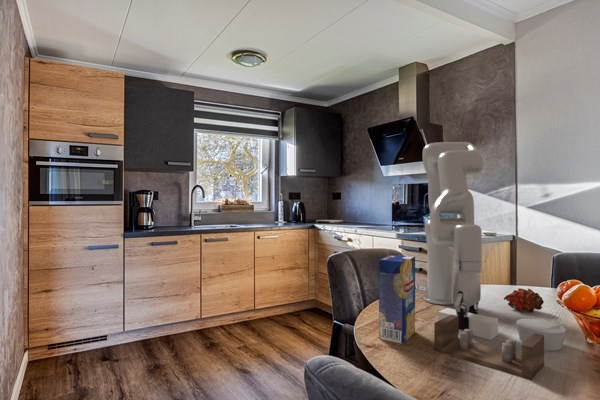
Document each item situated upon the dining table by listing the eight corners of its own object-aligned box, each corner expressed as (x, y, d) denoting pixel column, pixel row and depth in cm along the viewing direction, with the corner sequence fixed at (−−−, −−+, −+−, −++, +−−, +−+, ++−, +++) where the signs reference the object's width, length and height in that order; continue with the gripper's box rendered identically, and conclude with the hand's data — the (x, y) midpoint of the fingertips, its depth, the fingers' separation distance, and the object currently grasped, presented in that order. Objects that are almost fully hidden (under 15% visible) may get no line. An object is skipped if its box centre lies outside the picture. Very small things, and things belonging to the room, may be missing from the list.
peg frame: (434, 350, 96) (434, 322, 96) (451, 339, 103) (451, 314, 103) (532, 379, 80) (532, 347, 80) (544, 365, 87) (544, 335, 87)
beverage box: (415, 331, 109) (415, 256, 109) (403, 344, 100) (403, 262, 100) (392, 327, 113) (392, 254, 113) (378, 338, 104) (378, 259, 104)
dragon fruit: (547, 319, 125) (506, 318, 132) (545, 300, 131) (507, 299, 138) (542, 302, 121) (501, 301, 128) (541, 283, 127) (502, 283, 134)
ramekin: (567, 356, 92) (567, 335, 92) (515, 347, 98) (515, 327, 98) (564, 342, 102) (564, 322, 102) (517, 334, 108) (517, 316, 108)
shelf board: (438, 326, 114) (438, 311, 114) (446, 322, 118) (446, 307, 118) (490, 339, 103) (490, 323, 103) (498, 334, 107) (498, 318, 107)
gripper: (466, 261, 119) (466, 317, 119) (442, 268, 107) (442, 330, 107) (491, 264, 114) (491, 323, 114) (468, 271, 102) (468, 337, 102)
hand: (467, 326), depth 110 cm, fingers closed on shelf board, 6 cm apart
